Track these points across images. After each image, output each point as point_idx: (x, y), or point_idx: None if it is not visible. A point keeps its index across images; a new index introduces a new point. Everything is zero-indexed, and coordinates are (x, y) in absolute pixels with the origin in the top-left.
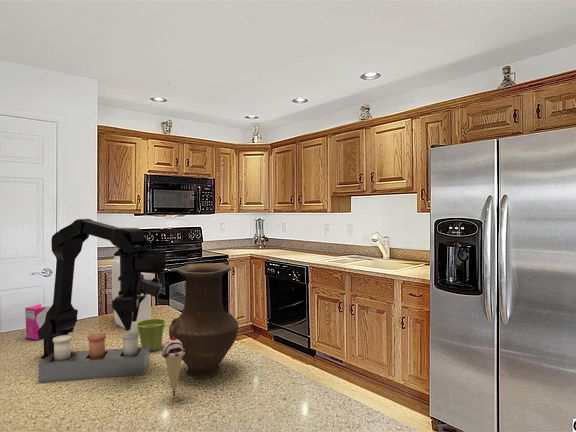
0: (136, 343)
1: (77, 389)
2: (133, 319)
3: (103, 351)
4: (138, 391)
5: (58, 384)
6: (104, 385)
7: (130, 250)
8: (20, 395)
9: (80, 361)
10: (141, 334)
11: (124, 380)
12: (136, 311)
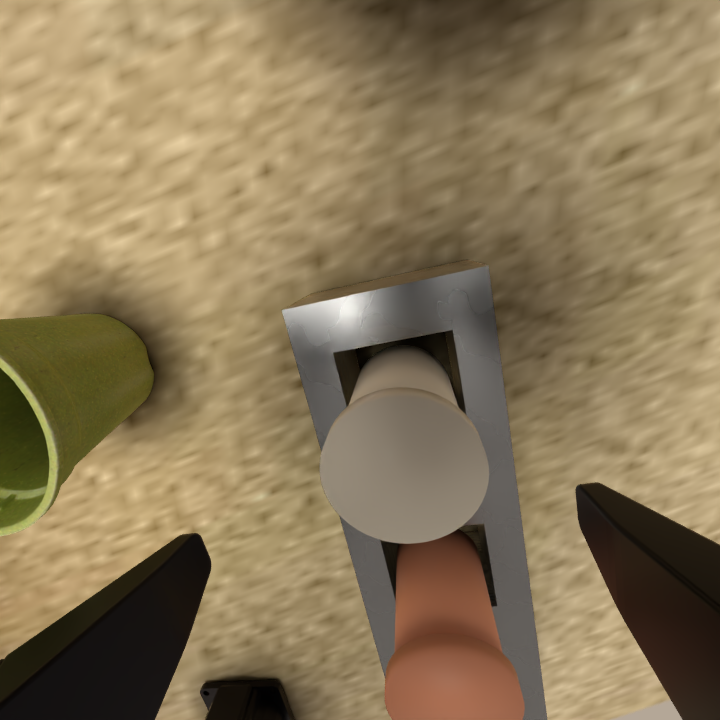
0: (417, 375)
1: None
2: (195, 576)
3: (448, 555)
4: (702, 199)
5: (550, 595)
6: (588, 412)
7: None
8: (638, 672)
9: (533, 613)
10: (89, 446)
11: (537, 339)
12: (93, 655)
